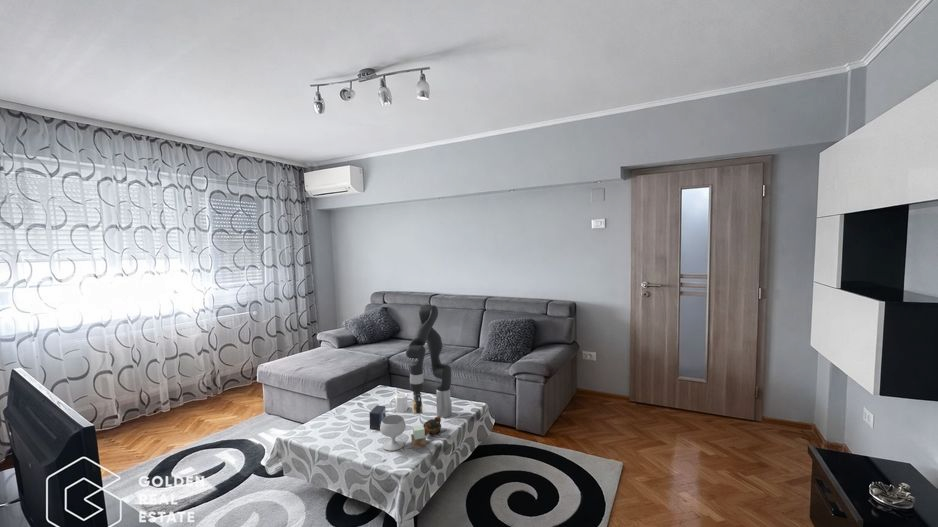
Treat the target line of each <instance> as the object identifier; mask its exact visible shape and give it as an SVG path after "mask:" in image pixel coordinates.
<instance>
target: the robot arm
mask: <svg viewBox="0 0 938 527" xmlns="http://www.w3.org/2000/svg"><path fill="white" fill-rule="evenodd" d="M418 316H419V319H420V323H421V326H419V328H418V329H417V330H416V332H415V334H414V337H413V339H412V341H410V343H409V344H408V346H407V347H406V350H405V354H406V357H407V358H408V359H417V360H416V361H412V362H411V363H410V364H409V389H410V391H411V392H412V395H413V400H415V403H416V413H417V414H416V415H418V413H420V412H421V411H420V407H421V401H422V393H421V391H423V390H424V389H425V388H424V385H425V384H424V383H425V382H424V380H425V379H424V371H423V370H424V368H423V365H424V360H425V355H426V347H425V344H427V348H428V352H429V357H430V361H431V362H430V363H431V370H432V374H433V377H435V378H437V379H440V380H441V381H440V382H438V383H436V386H435V395H436V397H435V399H436V404H435V405H436V417H437V416H440V418H447V417H450V416H452V415H453V412H452V411H453V410H452V407H453V406H452V399H451V384H452V368H451V366H450V365H449V364H444V363H441V360H440V355H441V352H442V350H443V342H442V337H441V335H440V333H438V332H437V331H436V329H435V328H434V327H433V326H434V324H435V322H436V321H437V319H438V317H439V308H438V307H437V306H436V305H434V304H433V305H430V304H429V305H422V306H419V308H418ZM416 400H417V401H416Z"/></svg>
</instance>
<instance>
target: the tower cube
mask: <svg viewBox="0 0 938 527" xmlns="http://www.w3.org/2000/svg"><path fill="white" fill-rule="evenodd" d="M423 425H424V424H419V425H414V426H412V427H413V428H412V434H413V436H414V438H415V440H416V439H422V438H425V437H426V436H425V429H424V427H423Z"/></svg>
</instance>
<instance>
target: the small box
mask: <svg viewBox="0 0 938 527" xmlns="http://www.w3.org/2000/svg"><path fill="white" fill-rule="evenodd" d="M385 417H387V414H386V406H385V405H375V406H374V407H373V408H372V409H371V411H369V430H380V425H381V422H382V420H383V418H385Z"/></svg>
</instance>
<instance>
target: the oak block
mask: <svg viewBox="0 0 938 527" xmlns="http://www.w3.org/2000/svg"><path fill="white" fill-rule="evenodd" d="M416 401H417V400H416ZM411 403H412V404H411V405H412V408H411V409H412V414H413V415H418V414H419V415H420V414H423V400H421V407H420V411H421V412H420V413H418V414H417V413H416V403H415V400H414V399H413V400H412V401H411Z"/></svg>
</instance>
